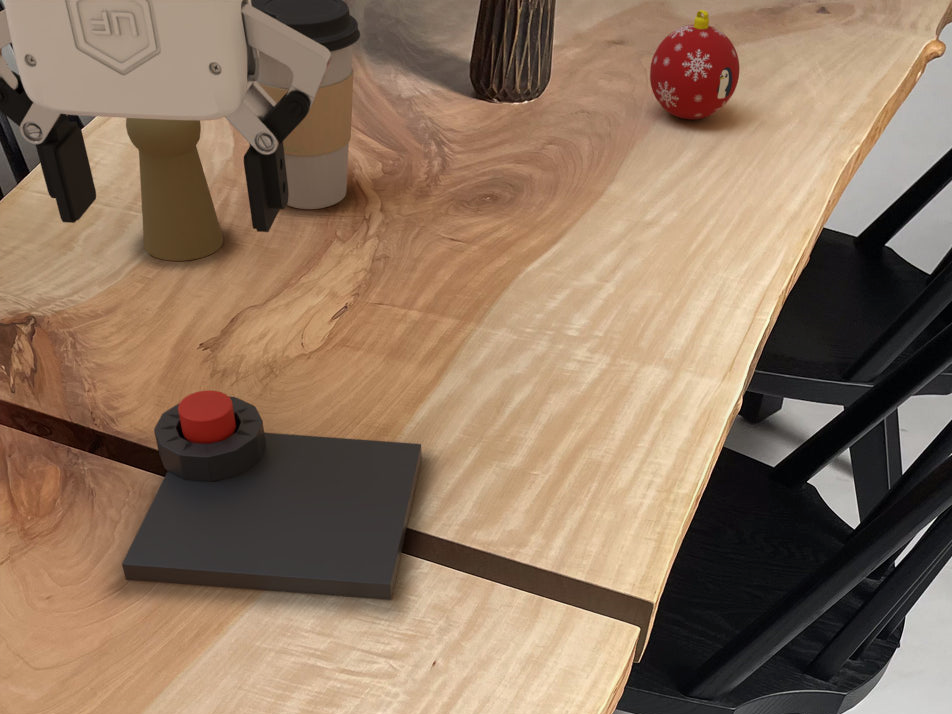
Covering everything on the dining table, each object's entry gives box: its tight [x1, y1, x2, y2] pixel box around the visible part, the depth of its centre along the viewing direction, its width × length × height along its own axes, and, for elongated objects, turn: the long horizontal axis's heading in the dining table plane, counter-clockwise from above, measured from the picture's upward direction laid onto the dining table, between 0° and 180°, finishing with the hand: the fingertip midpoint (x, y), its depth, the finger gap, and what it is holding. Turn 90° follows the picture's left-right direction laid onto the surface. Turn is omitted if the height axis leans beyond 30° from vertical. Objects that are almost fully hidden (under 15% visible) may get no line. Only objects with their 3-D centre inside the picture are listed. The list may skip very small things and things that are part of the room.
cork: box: [125, 118, 224, 262], centre depth 82 cm, size 6×6×11 cm
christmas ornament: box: [649, 9, 740, 120], centre depth 106 cm, size 9×9×10 cm
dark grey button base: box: [121, 395, 423, 601], centre depth 61 cm, size 15×13×3 cm
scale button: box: [178, 390, 236, 444], centre depth 63 cm, size 3×3×2 cm
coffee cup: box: [251, 0, 361, 210], centre depth 88 cm, size 9×9×15 cm
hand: (173, 215), depth 56 cm, fingers open, 9 cm apart
